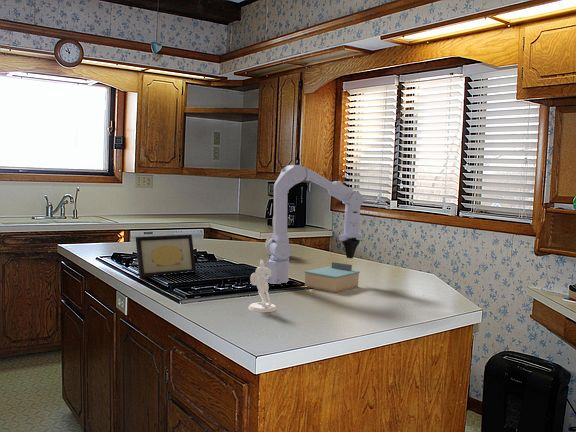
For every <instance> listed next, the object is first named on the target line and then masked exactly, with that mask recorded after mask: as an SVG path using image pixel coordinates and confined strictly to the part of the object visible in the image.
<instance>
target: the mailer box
mask: <svg viewBox="0 0 576 432" xmlns="http://www.w3.org/2000/svg"><path fill="white" fill-rule="evenodd" d="M304 274H305V277H304V287H305V286H307V287H306V288H309V289H312V290H313V289H315V290H320V291H324V292H329V293H334V294H335V293H339V292H343V291H347V290H349V289H354V288H358V287H359V278H360V277H359V275H360V273H357V274H353V275H349V276H345V277H341V278H337V279H336V278H330V277H325V276H319V275H313V274H308V273H305V272H304Z"/></svg>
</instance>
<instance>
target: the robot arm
mask: <svg viewBox="0 0 576 432" xmlns="http://www.w3.org/2000/svg"><path fill="white" fill-rule="evenodd" d="M303 181H307V182H312V183H314V184H316V185H318V186H319V187H321V188H324V189H326V190H327V193H328V195H329V196H331V197H333V198H335V199H336V200H339V201H340V202H343V203H344V205H345V207H344V221H343V223H344V224H343V233H342V234H339V235H338V241H341V242H342V244H343V247H344V251H345V257H346V259H354V255H355V252H356V249H357V247H358V245H359V244H360V242H361V241H360V239H363V232H360V219H361V218H360V216H361V206H362V205H363V204H364V199H365V198H363V195H362V193H360V192H359V191H354V190H353V189H354V188H353V187H351V186H350V187H348V186H347V185H346V184H345V185H344V184H343V182H342V181H341V180H339V181H337V180H335V181H330V180H328V179H327V178H326V177H324V176H323V175H321V174H319V173H317V172H316V171H314V170H312V169H310V168H307V167H304V166H303V165H301V164H289V165H288V164H287V166H285V167H284V168H282V169H281V171H280V174H279V176H278V177H277V178H276V180H275V182H274V184H273V216H274V224H273V226H272V230H273V231H272V239H271V243H270V245H269V251H270V253H271V254H272V255H270V257H269V260H268V261H266V262H264V263H265V265H264V267H266V268H269V270H271V276H270V277H269V279H266V281H267V282H268V283H270V284H281V283H287V282H288V281H289V271H290V256H291V255H292V247H291V246H290V238H289V235H288V191H289V190H291V188H293V187H294V186H295V185H297V184H299V183H302V182H303ZM266 276H268V274H267V273H265V277H266Z"/></svg>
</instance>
